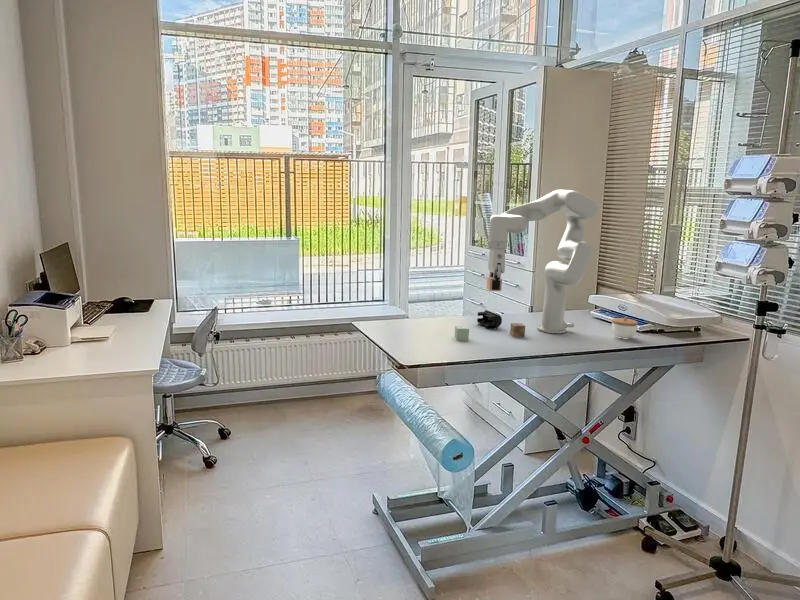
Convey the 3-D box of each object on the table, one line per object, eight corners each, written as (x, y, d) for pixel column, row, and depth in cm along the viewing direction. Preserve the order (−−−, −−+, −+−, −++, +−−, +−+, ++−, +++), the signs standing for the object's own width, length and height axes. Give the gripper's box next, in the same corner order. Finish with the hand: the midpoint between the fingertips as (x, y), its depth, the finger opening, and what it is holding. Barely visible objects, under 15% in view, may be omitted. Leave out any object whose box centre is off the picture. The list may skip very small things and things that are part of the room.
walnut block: (521, 334, 261) (522, 323, 260) (524, 337, 257) (525, 326, 256) (510, 334, 261) (511, 323, 260) (513, 337, 256) (514, 325, 255)
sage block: (466, 337, 252) (466, 325, 251) (468, 340, 247) (469, 328, 246) (454, 337, 252) (455, 325, 251) (456, 340, 247) (457, 328, 246)
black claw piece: (501, 328, 270) (502, 314, 268) (488, 329, 267) (489, 315, 265) (489, 323, 278) (490, 309, 277) (476, 324, 275) (477, 310, 274)
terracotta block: (498, 288, 252) (499, 277, 251) (501, 291, 247) (502, 279, 246) (486, 288, 252) (487, 276, 251) (489, 290, 247) (490, 278, 246)
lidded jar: (616, 340, 258) (619, 319, 256) (606, 334, 268) (608, 314, 266) (640, 341, 259) (643, 320, 257) (628, 334, 269) (631, 314, 267)
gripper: (511, 248, 238) (508, 292, 241) (500, 243, 254) (497, 285, 258) (493, 247, 237) (490, 292, 241) (483, 242, 254) (480, 284, 257)
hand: (494, 288), depth 249 cm, fingers closed on terracotta block, 5 cm apart
